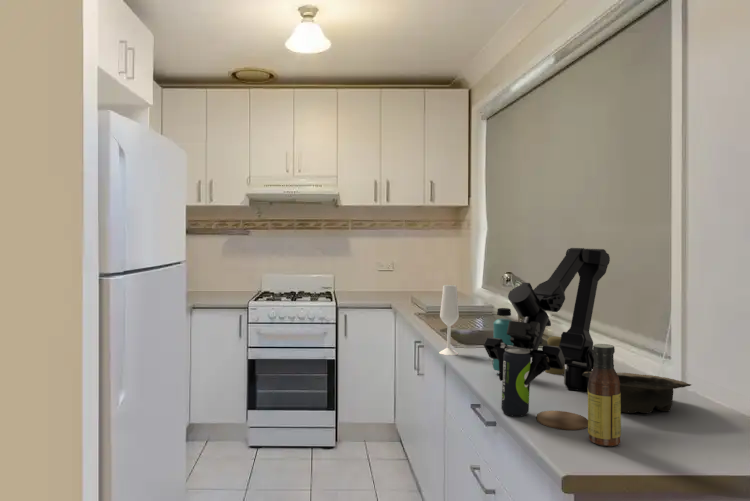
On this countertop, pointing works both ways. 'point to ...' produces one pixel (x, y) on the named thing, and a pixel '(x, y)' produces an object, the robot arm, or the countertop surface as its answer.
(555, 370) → the cork
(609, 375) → the sauce bottle
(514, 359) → the beverage can
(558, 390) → the countertop surface
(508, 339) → the beverage bottle
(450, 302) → the champagne flute
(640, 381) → the stone bowl
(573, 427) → the walnut coaster
